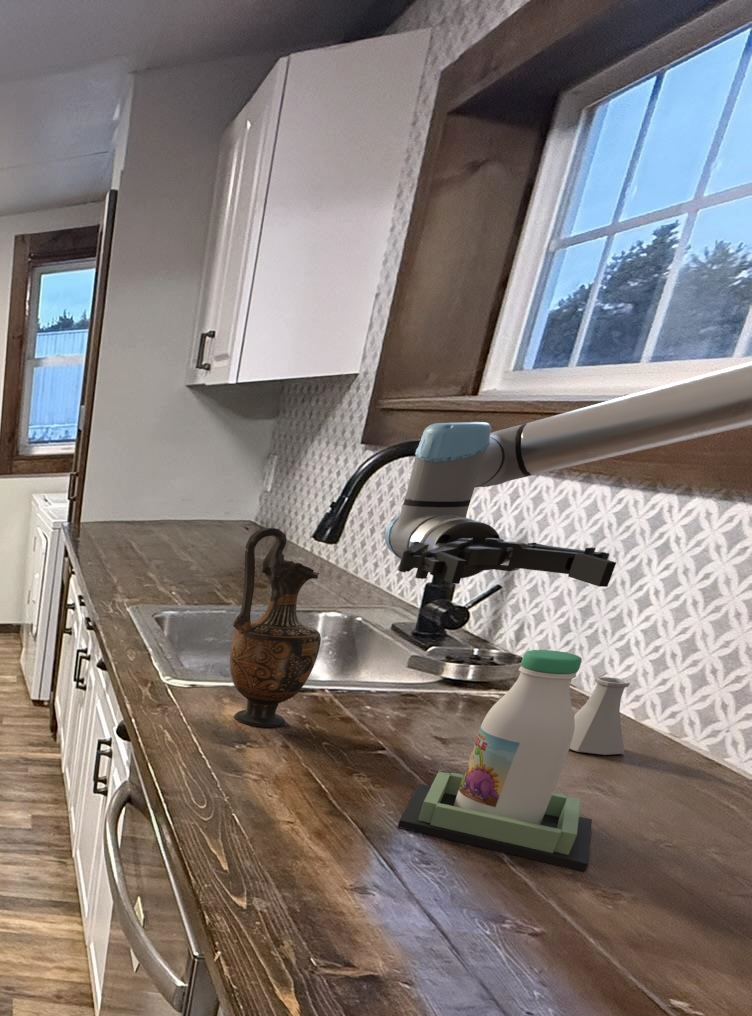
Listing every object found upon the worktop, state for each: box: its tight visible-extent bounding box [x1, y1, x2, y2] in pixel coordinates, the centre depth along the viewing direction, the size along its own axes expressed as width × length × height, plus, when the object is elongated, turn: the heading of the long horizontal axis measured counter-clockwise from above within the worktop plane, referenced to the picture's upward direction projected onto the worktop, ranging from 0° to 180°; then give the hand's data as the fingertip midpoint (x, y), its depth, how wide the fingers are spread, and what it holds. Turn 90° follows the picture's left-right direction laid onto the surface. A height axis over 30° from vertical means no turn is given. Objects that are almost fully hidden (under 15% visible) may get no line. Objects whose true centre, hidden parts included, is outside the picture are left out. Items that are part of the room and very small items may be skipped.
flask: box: [569, 676, 631, 756], centre depth 115 cm, size 7×7×10 cm
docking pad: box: [397, 771, 593, 872], centre depth 96 cm, size 16×14×4 cm
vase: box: [229, 527, 322, 728], centre depth 127 cm, size 12×12×30 cm
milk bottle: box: [454, 649, 583, 825], centre depth 93 cm, size 8×8×20 cm
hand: (531, 573), depth 94 cm, fingers open, 13 cm apart
